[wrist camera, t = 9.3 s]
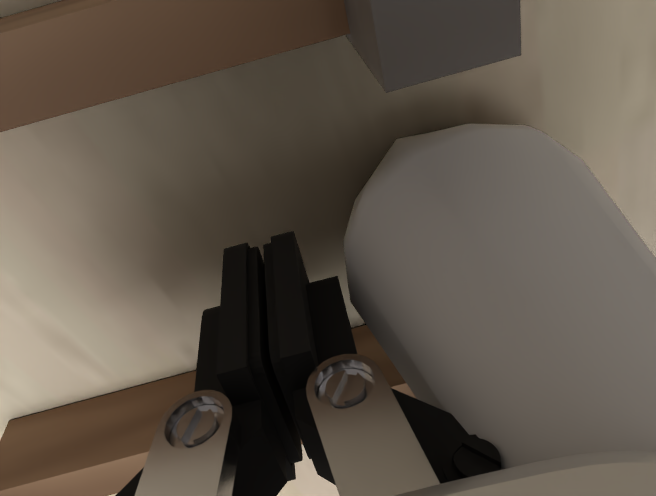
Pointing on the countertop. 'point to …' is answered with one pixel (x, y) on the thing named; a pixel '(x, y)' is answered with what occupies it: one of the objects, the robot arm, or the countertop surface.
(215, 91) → the countertop surface
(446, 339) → the salt shaker
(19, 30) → the chute
